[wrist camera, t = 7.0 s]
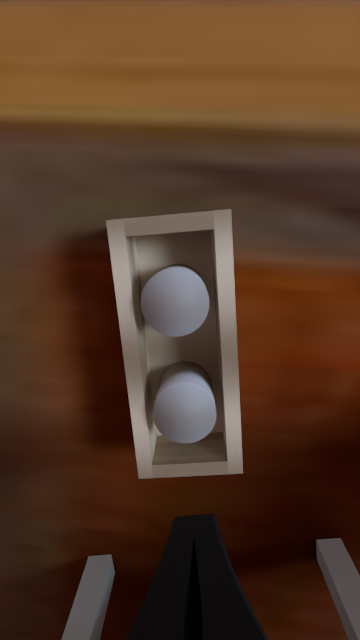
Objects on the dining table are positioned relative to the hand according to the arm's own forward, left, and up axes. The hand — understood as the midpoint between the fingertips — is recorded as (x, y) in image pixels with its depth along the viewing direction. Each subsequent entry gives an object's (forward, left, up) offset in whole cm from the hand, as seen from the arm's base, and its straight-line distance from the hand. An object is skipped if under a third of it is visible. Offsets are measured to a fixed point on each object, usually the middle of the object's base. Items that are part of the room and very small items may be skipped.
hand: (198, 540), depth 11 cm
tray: (+4, -3, -8) cm, 10 cm away
